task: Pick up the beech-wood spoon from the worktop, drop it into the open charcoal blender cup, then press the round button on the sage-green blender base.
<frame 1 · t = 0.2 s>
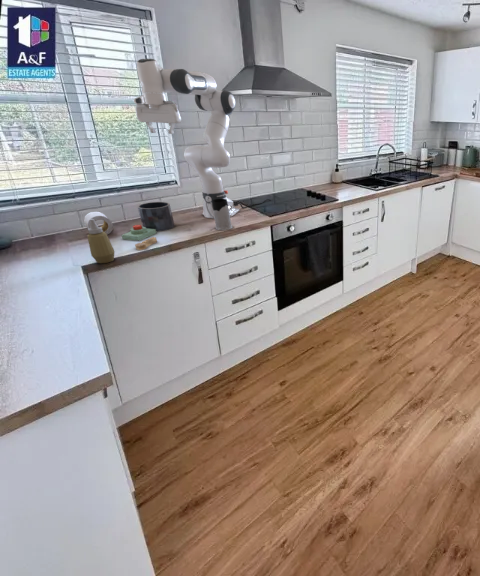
hand: (162, 133, 173), 48 cm above the countertop, tool pointing down, fingers open, 8 cm apart
glass holder: (220, 227, 202), on the countertop
base: (140, 236, 185), on the countertop
button: (137, 227, 182), point 4 cm above the countertop, slide at 0.1 cm
spoon: (146, 245, 173), on the countertop
jar: (159, 227, 198), on the countertop
toilet paper: (101, 233, 187), on the countertop
squeeze bottle: (105, 261, 156), on the countertop
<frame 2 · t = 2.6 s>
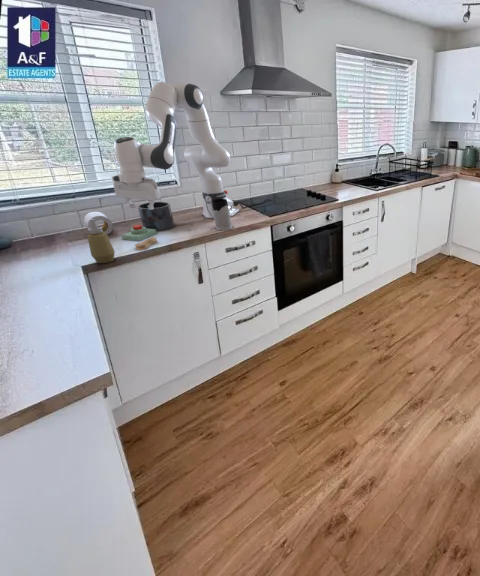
hand: (142, 208, 168), 17 cm above the countertop, tool pointing down, fingers open, 8 cm apart
nothing on the countertop moved.
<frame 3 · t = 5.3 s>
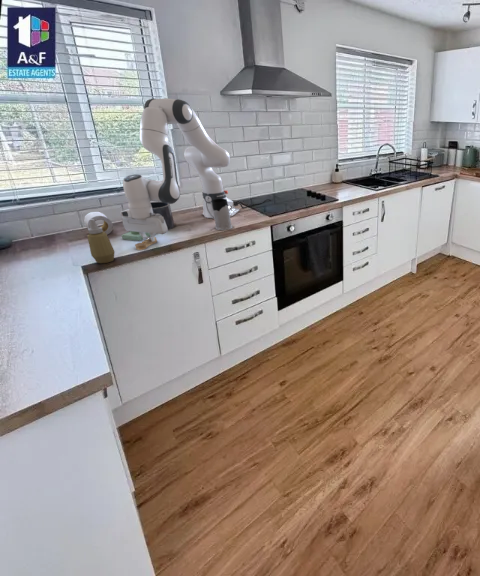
hand: (149, 240, 174), 2 cm above the countertop, tool pointing down, fingers closed on spoon, 2 cm apart
spoon: (146, 245, 173), on the countertop, touching gripper
everything else where it was.
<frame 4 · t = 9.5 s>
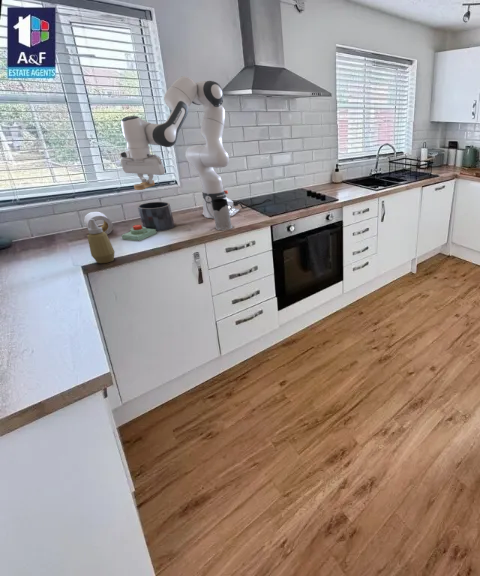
hand: (147, 183, 182), 24 cm above the countertop, tool pointing down, fingers closed on spoon
spoon: (145, 187, 181), point 23 cm above the countertop, touching gripper
everything else where it was.
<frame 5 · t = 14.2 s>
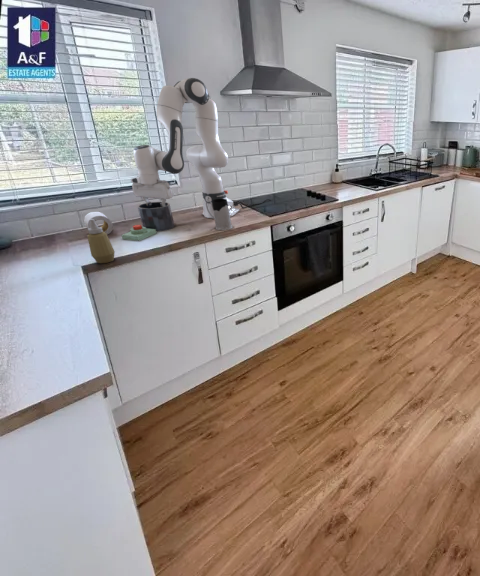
hand: (156, 206, 194), 11 cm above the countertop, tool pointing down, fingers open, 7 cm apart
spoon: (158, 226, 197), point 1 cm above the countertop, touching jar
everything else where it was.
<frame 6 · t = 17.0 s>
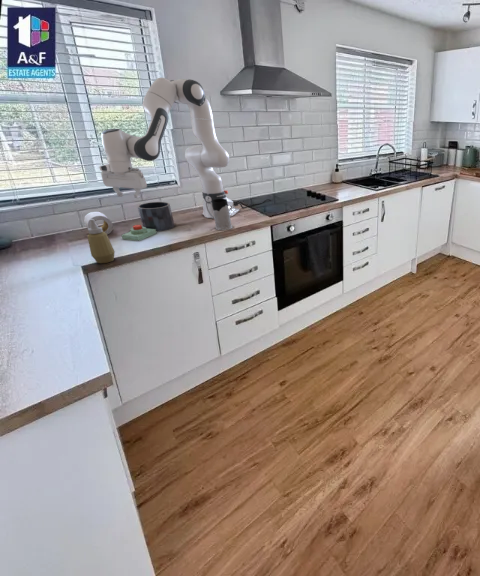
hand: (129, 197, 176), 20 cm above the countertop, tool pointing down, fingers open, 8 cm apart
nothing on the countertop moved.
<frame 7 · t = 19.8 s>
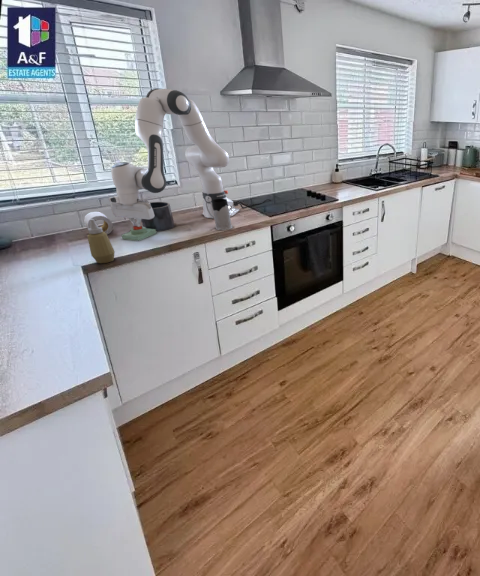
hand: (137, 226, 182), 5 cm above the countertop, tool pointing down, fingers closed, pressing on button
button: (137, 228, 183), point 4 cm above the countertop, slide at -0.2 cm, touching gripper
everything else where it was.
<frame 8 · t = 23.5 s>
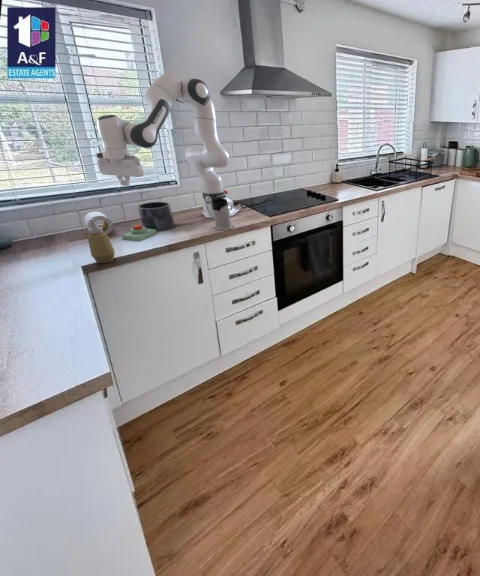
hand: (125, 185, 173), 25 cm above the countertop, tool pointing down, fingers closed
button: (137, 227, 182), point 4 cm above the countertop, slide at 0.1 cm
everything else where it was.
at the end: spoon inside the target area in the jar (0.6 cm from its centre), point 0.6 cm above the jar's base; button pushed in 1.1 cm at the most during the clip, back to where it started at the end; button slide at 0.1 cm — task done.
